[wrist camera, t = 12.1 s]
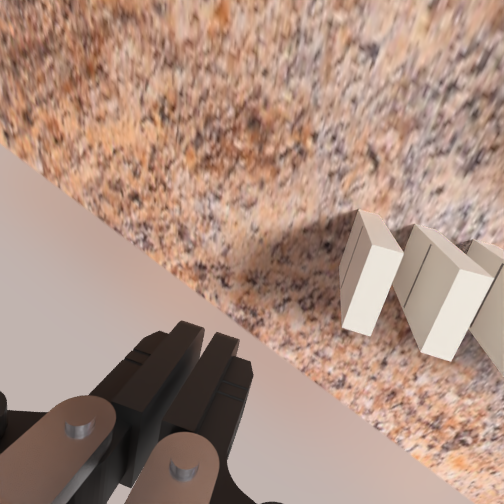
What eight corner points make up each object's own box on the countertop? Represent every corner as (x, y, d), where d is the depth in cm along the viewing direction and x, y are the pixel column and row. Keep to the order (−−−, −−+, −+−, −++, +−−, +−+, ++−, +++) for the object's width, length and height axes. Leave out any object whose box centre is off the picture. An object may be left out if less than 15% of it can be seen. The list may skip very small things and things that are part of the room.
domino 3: (445, 297, 27) (503, 378, 18) (473, 239, 25) (553, 294, 16) (466, 303, 27) (536, 388, 18) (496, 245, 25) (590, 304, 16)
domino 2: (391, 281, 28) (420, 352, 18) (414, 223, 26) (459, 268, 17) (411, 287, 28) (451, 361, 18) (436, 229, 26) (494, 278, 16)
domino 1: (338, 266, 28) (341, 327, 19) (358, 209, 27) (372, 244, 17) (358, 272, 28) (370, 336, 19) (379, 214, 26) (404, 253, 17)
